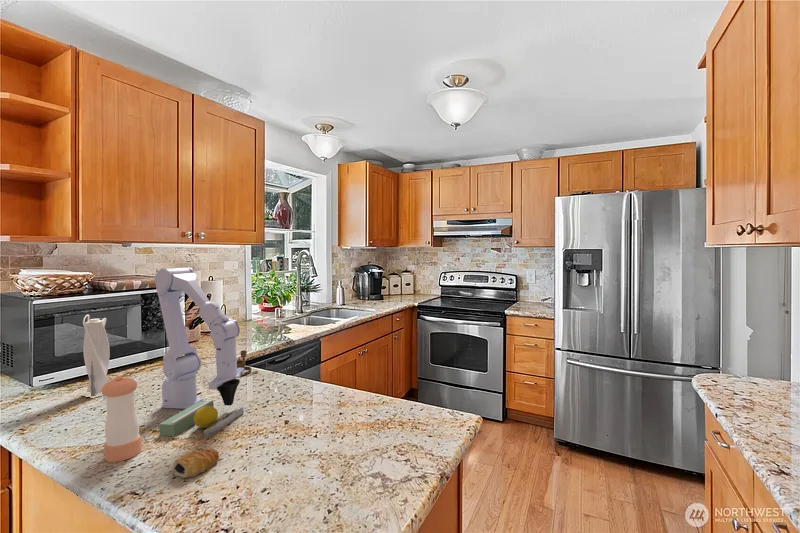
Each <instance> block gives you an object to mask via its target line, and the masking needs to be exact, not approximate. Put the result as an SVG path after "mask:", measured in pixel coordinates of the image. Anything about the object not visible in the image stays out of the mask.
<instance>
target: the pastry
mask: <svg viewBox="0 0 800 533" xmlns="http://www.w3.org/2000/svg"><path fill="white" fill-rule="evenodd" d="M219 459H220V455H219V452H218V451H217V450H215V449H212V448H207V449H205V450H204V449H202V450H196V451H191V452H188V453H187V454H183V455H181V456H180V457H179V458H178V459H175V461H174V463H173V465H172V468H171V472H172V473H173V474H174V476H176V477H181V478H184V479H188V478H189V479H192V478H195V477H197V476H199V474H200V473H205V472H206V471H207V470H209V469H210V468H211V467H213V466H214V465H215V464H216V463H217V462H218V460H219Z"/></svg>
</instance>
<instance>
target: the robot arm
mask: <svg viewBox="0 0 800 533" xmlns="http://www.w3.org/2000/svg"><path fill="white" fill-rule="evenodd" d="M197 277H198V276H197V274H196V273H195V272H194V270H193V268H191V267H189V266H185V267H170V268H168V267H167V268H165V267H164V268H159V270H158V271H157V273H156V274H155V276H154V278H153V279H154V283H155V284H154V285H155V288H156V293H157V295H158V301H159V305H160V310H161V314H162V319H163V324H164V329H165V333H166V338H167V342H168V347H169V349H168V351H167V352H166V353H165V355H163V357H162V360H163V367H162V371H163V374H164V376H165V379H164V380H163V382H162V385H161V395H162V399H161V400H162V405H160V408H162V409H163V408H164V409H180V410H181V409H183V410H185V409H187V408H189V407H190V406H192V405H194V404H196V403H198V402H199V401H204V398H203V397H198V394H197V391H198V390H197V375H198V371H199V370H200V369H201V366H202V360H201V358H200V356H199V354H198V351H197V348H196V347H194V346H191V344H189V341H188V340H189V339H188V335H187V331H186V325H185V321H184V316H183V312H182V309H181V308H182V307H181V303H180V297H181V295H182V294H183V293H185V295H187V296H188V298H189V299H190V300H192V302H193V303H194V304H195V305H196V306H197V307H198V308H199V311H198V315H199V316H200V317H201V319H202V320H203V321H204V322H205V324H206V325H207V327H208V328H209V329H210V332H209V335H210V336H209V337H210V339H211V340H212V341H213V346H214V348H215V363H216V376H215V377H214V378H213V379H212V380H211V381H210V382H208V390H214V391H215V390H217V391H218V392H219V394H220V396H221V399H222V402H223V404H224V405H223V406H229V407H230V406H232V405H233V404H234V400H235V396H236V392H237V389H238V386H239V384H240V383H241V379H239V378H240V375H243V374H244V373H245V370H244V368H237V360H238V358H237V341H236V340H237V338H238V336H239V334H240V330H241V329H240V325H239V323H238V321H237V320H236V319H233V318H230V317H228V316H227V315H226V314H225V312H224V311H223V310H222V309H221V307H220V305H219V304H218V303H217V302H211V301H210V300H209V298H208V297H207V295H206V294H205V291H204V290H203V289H202V288H201V286H200V284H199V283H198V281H197V280H198V278H197Z"/></svg>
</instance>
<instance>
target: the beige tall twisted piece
mask: <svg viewBox="0 0 800 533" xmlns="http://www.w3.org/2000/svg"><path fill="white" fill-rule="evenodd" d="M86 318H87V321H86ZM107 320H108V319H107V318H106V317H104V318H102V319H100V318H91V319H90V314H86V315H85V316H84V317H83V319H82V325H83V328H84V338H83V346H82V347H83V349H82V350H83V360H84V364H85V369H86V372H87V375H88V376H87V377H88V379H89V380H88V384H87V391H86V393H87V392H90V393H91V396H96V395H97V394H98V393H101V392H102V388H103V386H104V385H105V384H106V383H108V382H109V380H108V378H107V377H108V376H107V375H108V371H109V365H110V356H111V354H110V348H111V347H110V341H109V338H108V333H107V330H106V329H105V327H106V323H107Z"/></svg>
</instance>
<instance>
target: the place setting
mask: <svg viewBox="0 0 800 533" xmlns="http://www.w3.org/2000/svg"><path fill="white" fill-rule="evenodd" d="M247 355H248V353H247V349H246V350H240V357H241V358H242V359H241V360H240V359H239V360H238V359H237V368H244V374H243V375H240V377H244V376H246V378H248V377H251V376H252V375H256V374H258V373H259V370H256V371H255V370H254V371H253V370H252V367H251V366H249V365H247V366H246V360H245V359H246V357H247ZM245 370H246V371H245ZM252 371H253V372H252ZM251 372H252V373H251ZM240 377H239V378H240Z"/></svg>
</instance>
